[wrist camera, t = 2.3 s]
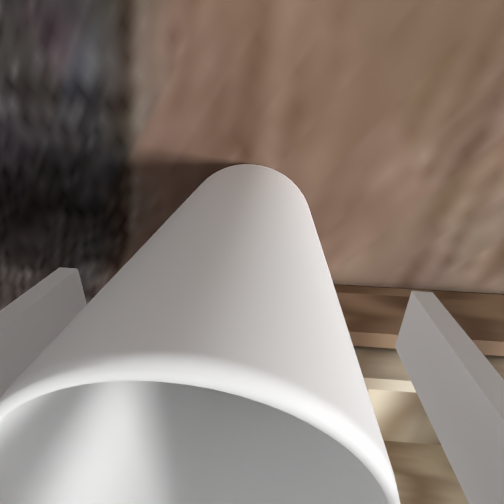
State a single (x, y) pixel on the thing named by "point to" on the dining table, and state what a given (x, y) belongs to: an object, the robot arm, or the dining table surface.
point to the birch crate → (410, 429)
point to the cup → (203, 371)
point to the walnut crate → (394, 306)
